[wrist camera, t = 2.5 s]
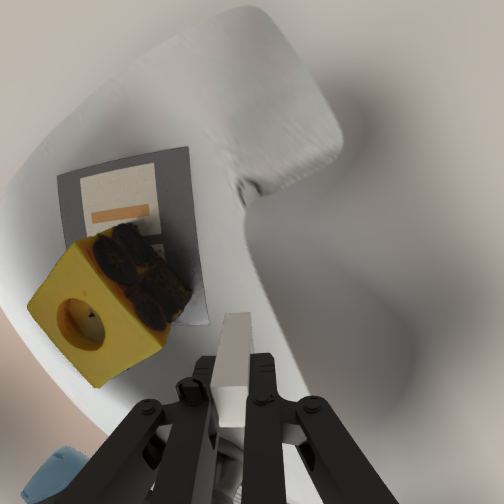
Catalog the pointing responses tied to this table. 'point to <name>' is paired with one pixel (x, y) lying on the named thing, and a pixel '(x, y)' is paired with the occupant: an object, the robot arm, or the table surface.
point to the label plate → (141, 213)
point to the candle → (109, 303)
